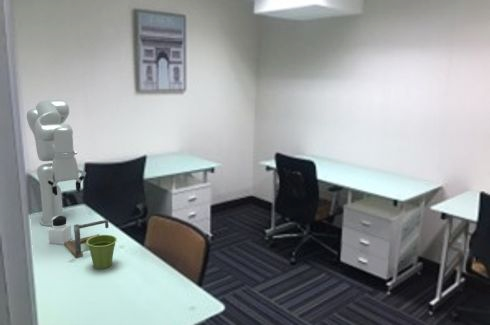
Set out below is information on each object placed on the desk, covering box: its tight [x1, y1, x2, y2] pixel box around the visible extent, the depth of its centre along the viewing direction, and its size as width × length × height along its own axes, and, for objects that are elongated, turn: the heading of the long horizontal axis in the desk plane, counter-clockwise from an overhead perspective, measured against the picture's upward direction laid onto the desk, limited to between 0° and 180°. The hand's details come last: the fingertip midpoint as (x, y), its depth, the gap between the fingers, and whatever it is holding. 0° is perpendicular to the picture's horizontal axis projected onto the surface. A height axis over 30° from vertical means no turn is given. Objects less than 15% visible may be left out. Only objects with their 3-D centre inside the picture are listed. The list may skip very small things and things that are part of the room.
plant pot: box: [87, 234, 118, 270], centre depth 167 cm, size 12×12×11 cm
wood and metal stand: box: [63, 219, 109, 259], centre depth 183 cm, size 16×16×14 cm
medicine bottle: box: [47, 215, 72, 245], centre depth 188 cm, size 7×7×12 cm
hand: (66, 192), depth 179 cm, fingers open, 9 cm apart
